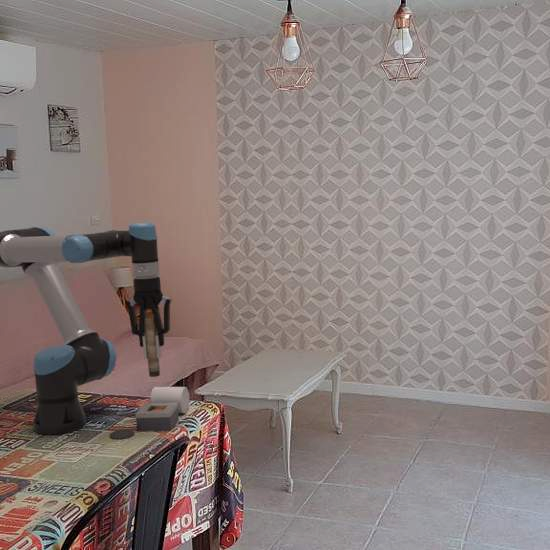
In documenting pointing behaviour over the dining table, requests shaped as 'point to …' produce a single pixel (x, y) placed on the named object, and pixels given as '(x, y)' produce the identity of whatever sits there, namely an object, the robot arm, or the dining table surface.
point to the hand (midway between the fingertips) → (153, 357)
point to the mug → (171, 397)
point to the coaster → (121, 434)
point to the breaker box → (157, 417)
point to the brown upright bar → (151, 347)
